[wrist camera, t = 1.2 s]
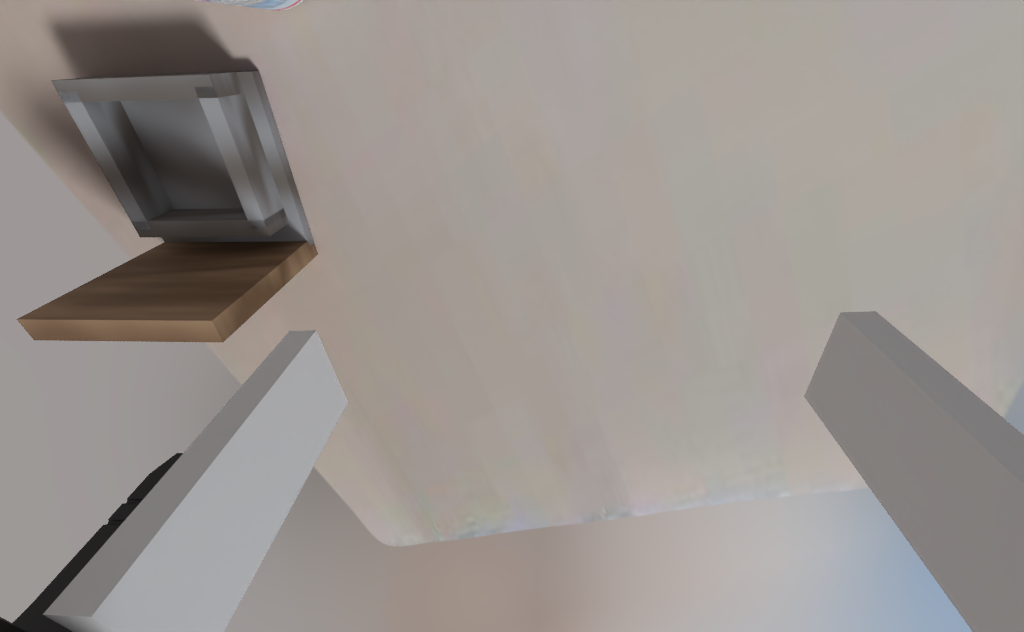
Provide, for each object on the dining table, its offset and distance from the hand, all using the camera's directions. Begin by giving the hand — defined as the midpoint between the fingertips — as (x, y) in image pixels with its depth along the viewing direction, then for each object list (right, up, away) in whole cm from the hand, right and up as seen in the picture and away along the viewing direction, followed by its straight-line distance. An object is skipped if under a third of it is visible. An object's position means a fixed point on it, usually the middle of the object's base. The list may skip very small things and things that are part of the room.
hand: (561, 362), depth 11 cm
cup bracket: (-24, +12, +20) cm, 33 cm away
